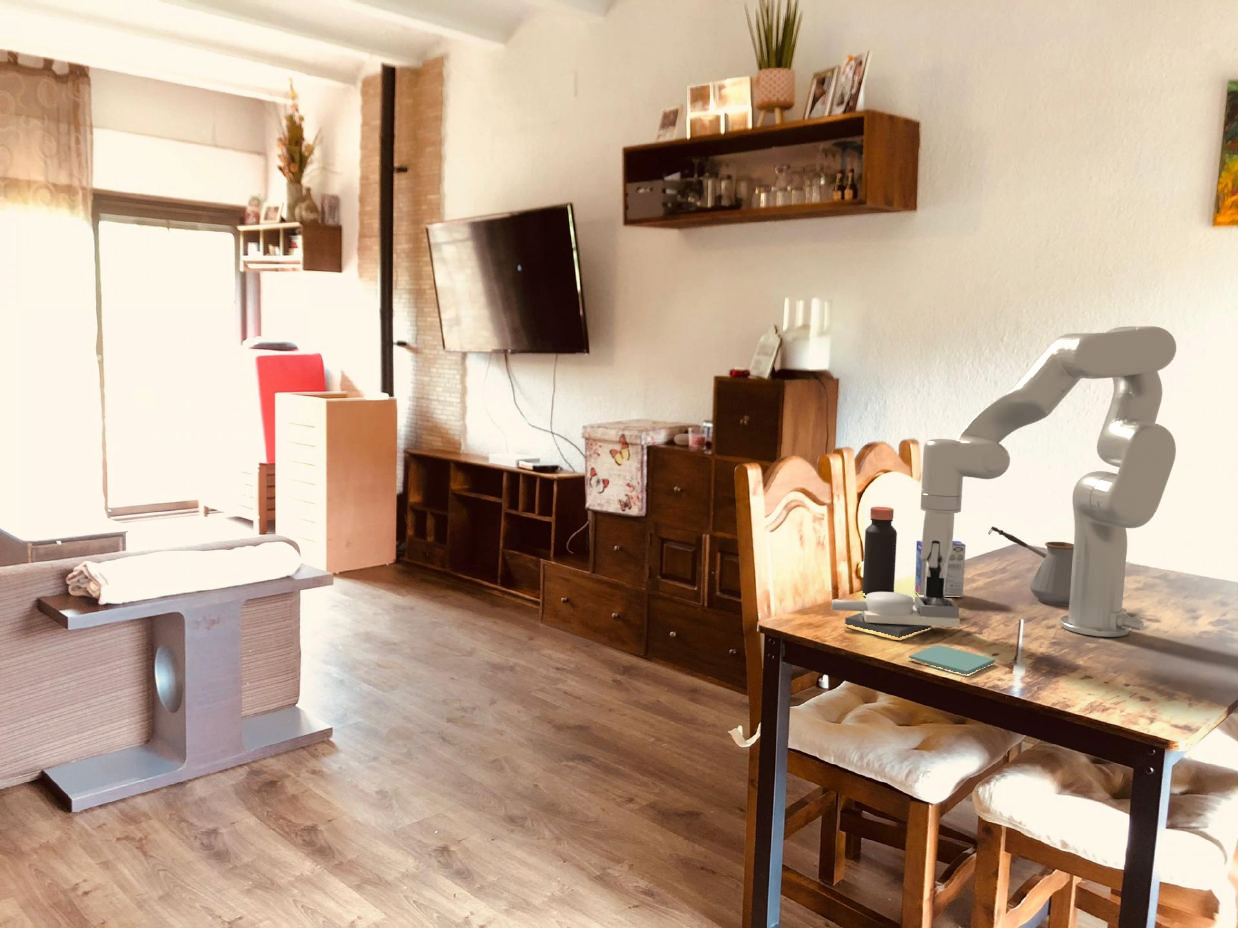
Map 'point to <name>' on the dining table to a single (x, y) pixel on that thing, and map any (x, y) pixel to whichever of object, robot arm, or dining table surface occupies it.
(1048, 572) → the coffee pot
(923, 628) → the dark gray sponge cloth
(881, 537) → the bottle
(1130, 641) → the dining table surface
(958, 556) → the ink cartridge box
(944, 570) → the grey piece
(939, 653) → the key mat
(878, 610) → the white handled tool
